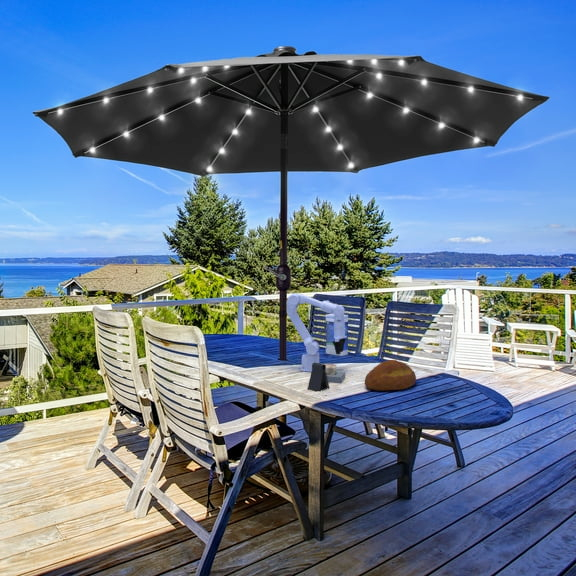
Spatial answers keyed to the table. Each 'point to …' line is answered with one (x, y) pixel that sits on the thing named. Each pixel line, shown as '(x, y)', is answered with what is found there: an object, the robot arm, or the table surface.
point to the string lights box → (330, 335)
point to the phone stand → (318, 377)
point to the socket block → (336, 377)
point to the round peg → (330, 365)
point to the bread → (390, 376)
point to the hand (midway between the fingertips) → (339, 352)
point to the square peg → (331, 370)
